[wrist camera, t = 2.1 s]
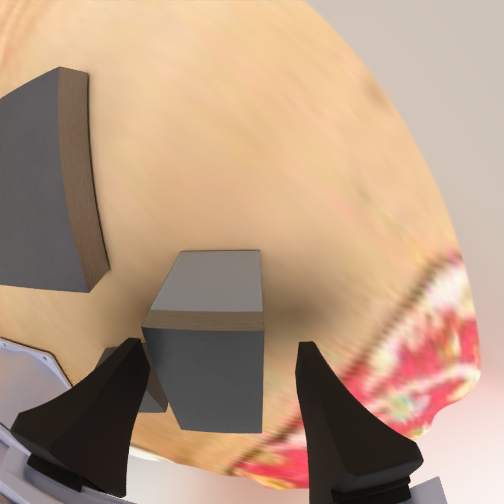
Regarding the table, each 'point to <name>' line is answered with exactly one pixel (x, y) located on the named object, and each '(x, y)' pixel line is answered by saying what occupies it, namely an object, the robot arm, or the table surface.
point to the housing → (210, 340)
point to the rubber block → (154, 392)
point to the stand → (48, 187)
